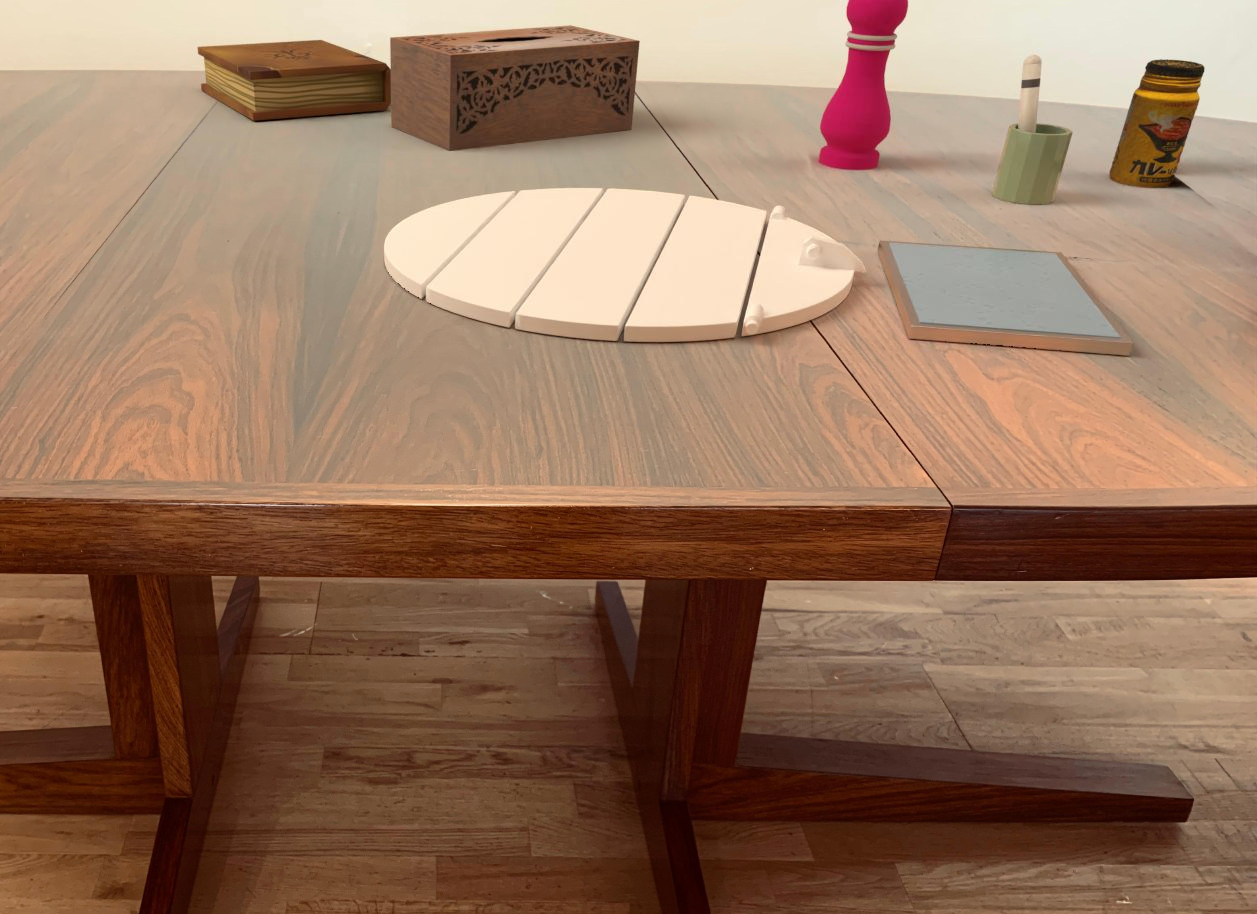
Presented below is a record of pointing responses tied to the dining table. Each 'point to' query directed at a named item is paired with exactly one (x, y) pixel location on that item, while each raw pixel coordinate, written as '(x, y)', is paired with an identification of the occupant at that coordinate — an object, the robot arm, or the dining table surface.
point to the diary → (295, 79)
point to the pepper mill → (862, 87)
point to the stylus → (1029, 94)
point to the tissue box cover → (512, 85)
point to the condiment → (1157, 124)
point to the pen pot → (1031, 164)
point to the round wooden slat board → (618, 264)
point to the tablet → (998, 298)
